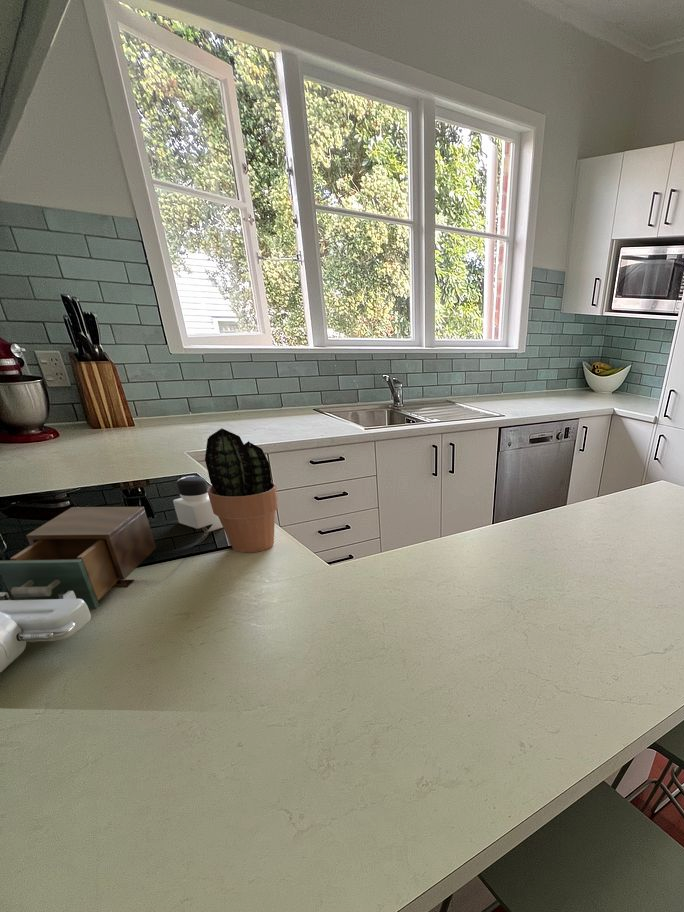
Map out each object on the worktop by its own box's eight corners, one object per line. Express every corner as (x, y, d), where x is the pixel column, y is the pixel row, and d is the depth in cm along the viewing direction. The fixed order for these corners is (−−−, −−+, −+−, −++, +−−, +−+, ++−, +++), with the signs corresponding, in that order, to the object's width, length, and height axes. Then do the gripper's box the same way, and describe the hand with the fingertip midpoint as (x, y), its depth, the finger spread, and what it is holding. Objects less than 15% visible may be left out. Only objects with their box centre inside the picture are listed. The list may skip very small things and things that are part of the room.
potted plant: (274, 558, 116) (252, 436, 103) (210, 556, 116) (180, 434, 103) (292, 535, 128) (274, 423, 115) (233, 533, 128) (209, 420, 114)
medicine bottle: (225, 527, 131) (214, 477, 125) (199, 535, 126) (186, 484, 119) (206, 521, 134) (194, 472, 128) (180, 529, 129) (166, 478, 122)
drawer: (82, 622, 90) (63, 574, 85) (1, 624, 88) (-24, 575, 84) (131, 573, 106) (117, 530, 101) (63, 574, 104) (45, 531, 100)
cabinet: (126, 587, 103) (108, 534, 97) (49, 589, 101) (25, 535, 95) (158, 555, 116) (144, 506, 110) (90, 556, 114) (71, 507, 109)
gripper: (54, 618, 76) (100, 576, 88) (-108, 622, 74) (-38, 579, 86) (70, 655, 80) (113, 610, 91) (-84, 661, 77) (-20, 613, 89)
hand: (39, 595), depth 88 cm, fingers open, 8 cm apart
